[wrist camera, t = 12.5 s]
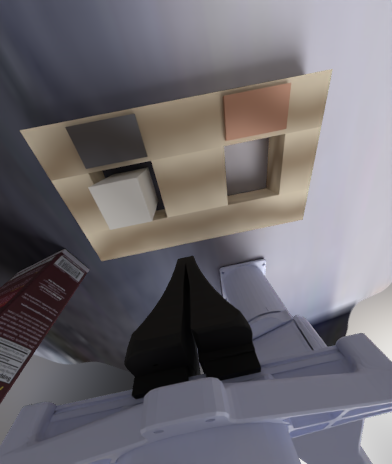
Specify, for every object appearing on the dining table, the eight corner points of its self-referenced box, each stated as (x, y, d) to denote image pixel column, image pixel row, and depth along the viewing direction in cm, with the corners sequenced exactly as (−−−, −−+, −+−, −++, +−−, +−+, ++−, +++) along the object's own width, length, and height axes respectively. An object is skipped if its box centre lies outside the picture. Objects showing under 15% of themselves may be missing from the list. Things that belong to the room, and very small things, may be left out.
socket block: (288, 210, 23) (304, 220, 20) (110, 247, 22) (100, 263, 19) (306, 81, 16) (336, 67, 13) (46, 132, 15) (15, 130, 12)
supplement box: (48, 290, 25) (-107, 470, 11) (18, 271, 23) (-225, 469, 9) (92, 269, 24) (-19, 440, 10) (66, 246, 22) (-125, 429, 8)
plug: (158, 200, 20) (152, 221, 15) (127, 206, 20) (110, 229, 15) (148, 167, 18) (137, 177, 13) (113, 174, 18) (87, 187, 13)
